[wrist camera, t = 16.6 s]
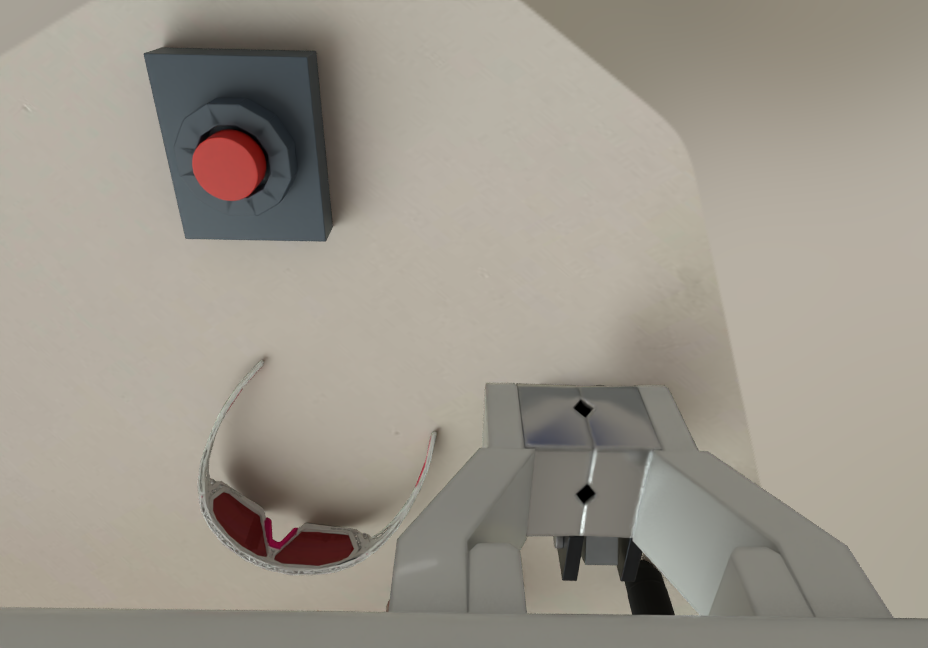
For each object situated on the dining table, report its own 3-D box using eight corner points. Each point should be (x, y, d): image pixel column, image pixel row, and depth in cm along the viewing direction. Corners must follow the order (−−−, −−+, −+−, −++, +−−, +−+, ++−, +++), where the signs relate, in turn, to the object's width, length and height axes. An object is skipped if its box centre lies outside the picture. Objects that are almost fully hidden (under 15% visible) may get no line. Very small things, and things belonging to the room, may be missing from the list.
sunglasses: (183, 496, 55) (162, 536, 50) (255, 337, 50) (239, 364, 45) (364, 559, 59) (360, 600, 54) (447, 418, 54) (450, 450, 49)
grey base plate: (161, 47, 36) (129, 57, 33) (316, 50, 36) (300, 61, 33) (199, 225, 42) (175, 249, 38) (333, 227, 42) (321, 252, 38)
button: (197, 128, 35) (185, 136, 33) (261, 129, 35) (252, 137, 33) (209, 190, 37) (199, 200, 35) (270, 191, 37) (262, 201, 35)
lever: (573, 382, 44) (582, 387, 41) (618, 383, 45) (630, 388, 41) (570, 549, 45) (579, 567, 41) (614, 550, 45) (627, 567, 41)
